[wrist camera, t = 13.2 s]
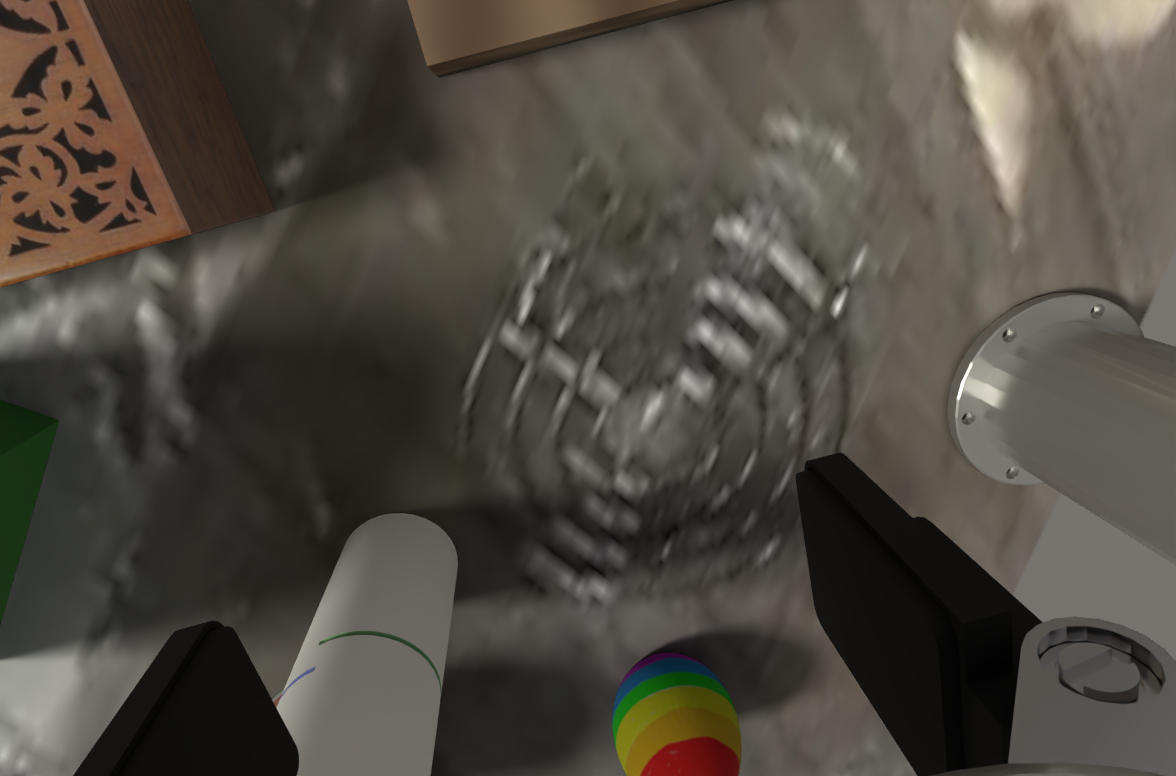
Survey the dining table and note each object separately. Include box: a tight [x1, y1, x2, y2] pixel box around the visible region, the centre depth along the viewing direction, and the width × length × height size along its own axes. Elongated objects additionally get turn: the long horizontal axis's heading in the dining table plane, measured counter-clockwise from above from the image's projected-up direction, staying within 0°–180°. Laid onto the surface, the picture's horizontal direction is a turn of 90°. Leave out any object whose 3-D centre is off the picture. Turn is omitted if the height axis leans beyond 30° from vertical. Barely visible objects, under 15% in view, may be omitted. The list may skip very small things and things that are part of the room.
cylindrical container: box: [277, 513, 458, 776], centre depth 31 cm, size 7×7×25 cm
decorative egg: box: [612, 652, 741, 776], centre depth 43 cm, size 8×8×10 cm
